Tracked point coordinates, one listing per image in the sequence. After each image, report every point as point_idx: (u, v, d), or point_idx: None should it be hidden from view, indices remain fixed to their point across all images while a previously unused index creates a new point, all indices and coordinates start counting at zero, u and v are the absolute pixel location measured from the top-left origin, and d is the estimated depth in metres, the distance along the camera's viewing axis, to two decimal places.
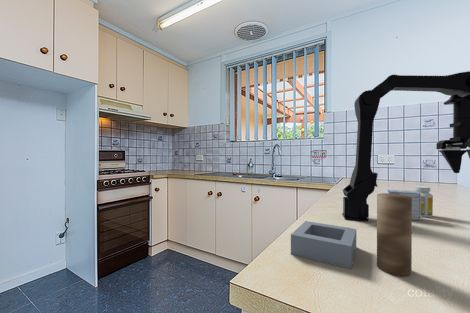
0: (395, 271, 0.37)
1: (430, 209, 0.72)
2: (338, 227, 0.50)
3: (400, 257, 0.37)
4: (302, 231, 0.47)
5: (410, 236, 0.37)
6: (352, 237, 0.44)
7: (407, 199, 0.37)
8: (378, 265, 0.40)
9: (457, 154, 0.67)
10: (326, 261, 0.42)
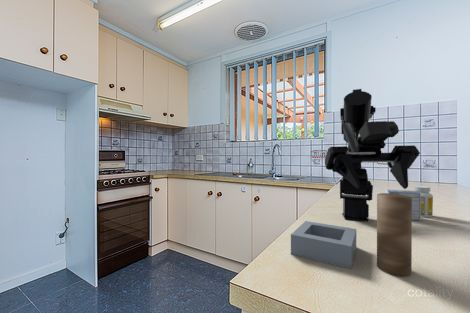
0: (395, 271, 0.37)
1: (430, 209, 0.72)
2: (338, 227, 0.50)
3: (400, 257, 0.37)
4: (302, 231, 0.47)
5: (410, 236, 0.37)
6: (352, 237, 0.44)
7: (407, 199, 0.37)
8: (378, 265, 0.40)
9: (397, 165, 0.49)
10: (326, 261, 0.42)
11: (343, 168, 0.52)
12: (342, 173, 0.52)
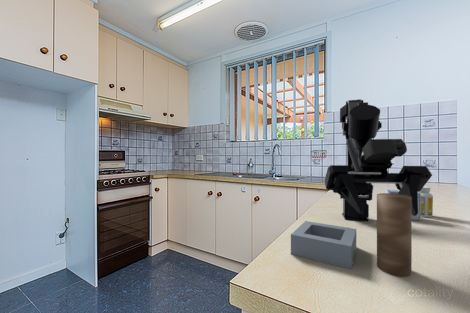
0: (395, 271, 0.37)
1: (430, 209, 0.72)
2: (338, 227, 0.50)
3: (400, 257, 0.37)
4: (302, 231, 0.47)
5: (410, 236, 0.37)
6: (352, 237, 0.44)
7: (407, 199, 0.37)
8: (378, 265, 0.40)
9: (406, 188, 0.44)
10: (326, 261, 0.42)
11: (344, 189, 0.47)
12: (343, 195, 0.47)
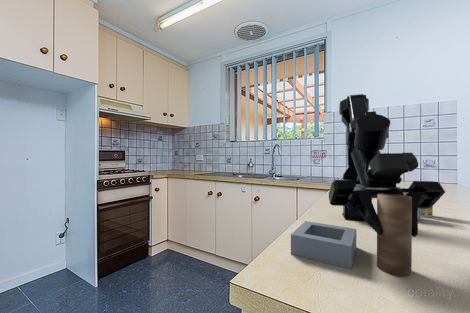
0: (395, 271, 0.37)
1: (430, 209, 0.72)
2: (338, 227, 0.50)
3: (400, 257, 0.37)
4: (302, 231, 0.47)
5: (410, 236, 0.37)
6: (352, 237, 0.44)
7: (407, 199, 0.37)
8: (378, 265, 0.40)
9: None
10: (326, 261, 0.42)
11: (361, 206, 0.44)
12: (359, 212, 0.43)
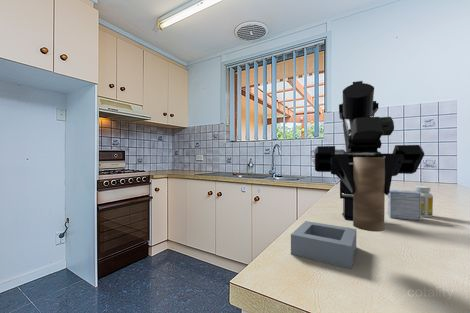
0: (366, 226, 0.40)
1: (430, 209, 0.72)
2: (338, 227, 0.50)
3: (370, 213, 0.39)
4: (302, 231, 0.47)
5: (381, 194, 0.39)
6: (352, 237, 0.44)
7: (378, 158, 0.39)
8: (353, 223, 0.42)
9: None
10: (326, 261, 0.42)
11: (341, 170, 0.46)
12: (340, 176, 0.46)
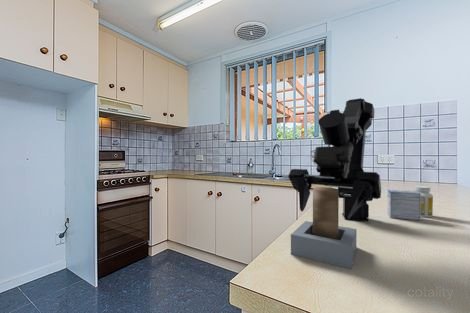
0: None
1: (430, 209, 0.72)
2: (338, 227, 0.50)
3: None
4: (302, 231, 0.47)
5: (331, 223, 0.44)
6: (352, 237, 0.44)
7: (326, 192, 0.44)
8: None
9: None
10: (326, 261, 0.42)
11: None
12: None
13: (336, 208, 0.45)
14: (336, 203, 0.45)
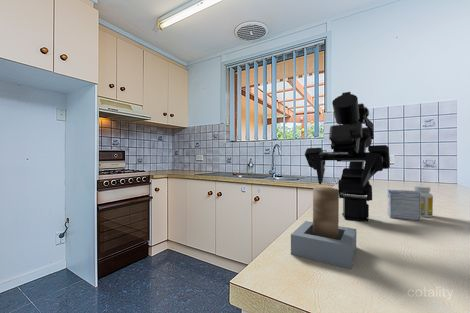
0: None
1: (430, 209, 0.72)
2: (338, 227, 0.50)
3: None
4: (302, 231, 0.47)
5: (331, 223, 0.45)
6: (352, 237, 0.44)
7: (327, 191, 0.45)
8: None
9: None
10: (326, 261, 0.42)
11: None
12: None
13: (336, 208, 0.45)
14: (336, 203, 0.45)
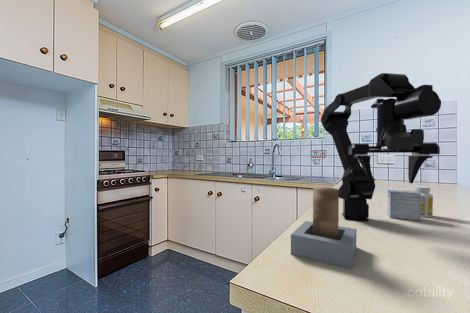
0: None
1: (430, 209, 0.72)
2: (338, 227, 0.50)
3: None
4: (302, 231, 0.47)
5: (331, 223, 0.45)
6: (352, 237, 0.44)
7: (327, 191, 0.45)
8: None
9: (413, 161, 0.56)
10: (326, 261, 0.42)
11: None
12: (361, 162, 0.61)
13: (336, 208, 0.45)
14: (336, 203, 0.45)
